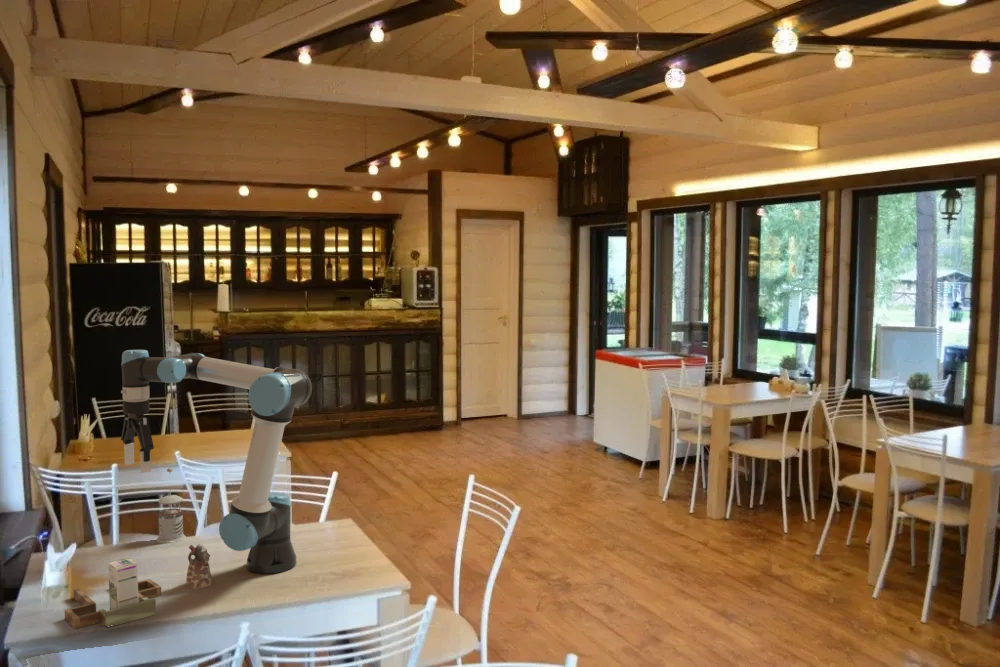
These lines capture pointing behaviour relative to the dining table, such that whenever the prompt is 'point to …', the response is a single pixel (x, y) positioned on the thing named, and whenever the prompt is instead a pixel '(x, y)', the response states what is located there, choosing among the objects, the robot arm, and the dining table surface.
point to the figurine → (198, 568)
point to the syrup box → (123, 583)
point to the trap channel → (121, 615)
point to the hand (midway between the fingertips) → (137, 468)
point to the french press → (170, 519)
